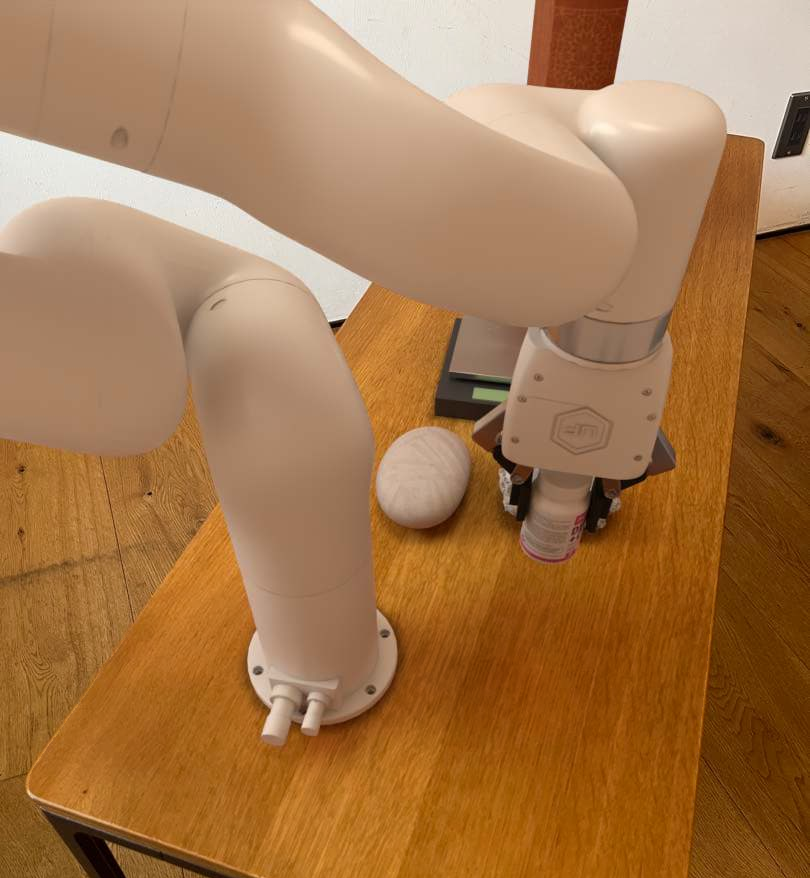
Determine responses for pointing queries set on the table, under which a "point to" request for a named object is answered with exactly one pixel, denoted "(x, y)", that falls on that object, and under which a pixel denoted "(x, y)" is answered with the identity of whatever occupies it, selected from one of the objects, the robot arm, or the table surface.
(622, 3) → the book
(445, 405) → the scale
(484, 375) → the scale pan
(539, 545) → the pill bottle
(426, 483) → the decorative stone
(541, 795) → the table surface
